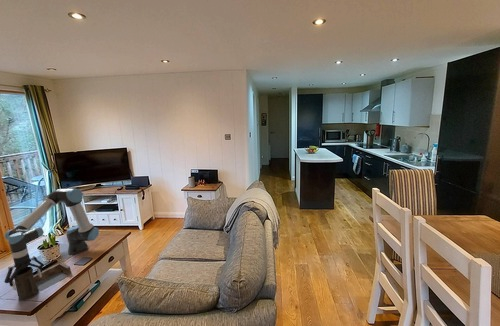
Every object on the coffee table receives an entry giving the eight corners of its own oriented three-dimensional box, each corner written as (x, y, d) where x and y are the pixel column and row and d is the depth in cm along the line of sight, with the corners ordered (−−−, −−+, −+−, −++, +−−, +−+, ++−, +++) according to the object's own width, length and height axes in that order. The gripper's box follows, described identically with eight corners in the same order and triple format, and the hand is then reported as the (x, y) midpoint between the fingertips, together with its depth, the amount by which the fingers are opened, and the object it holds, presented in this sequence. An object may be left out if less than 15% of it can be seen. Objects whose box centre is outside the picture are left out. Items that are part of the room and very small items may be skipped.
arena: (62, 268, 191) (61, 262, 190) (71, 273, 184) (69, 266, 183) (31, 284, 174) (29, 277, 172) (40, 290, 167) (38, 283, 166)
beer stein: (13, 300, 159) (7, 274, 154) (30, 288, 169) (25, 264, 165) (31, 303, 156) (26, 278, 152) (47, 292, 167) (43, 267, 162)
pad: (60, 272, 187) (60, 271, 187) (68, 276, 181) (68, 276, 181) (33, 285, 172) (33, 285, 172) (41, 290, 166) (41, 290, 166)
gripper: (41, 245, 169) (47, 270, 173) (-8, 264, 147) (0, 293, 151) (46, 247, 165) (52, 273, 169) (-4, 267, 143) (5, 297, 148)
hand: (28, 283), depth 160 cm, fingers open, 13 cm apart
